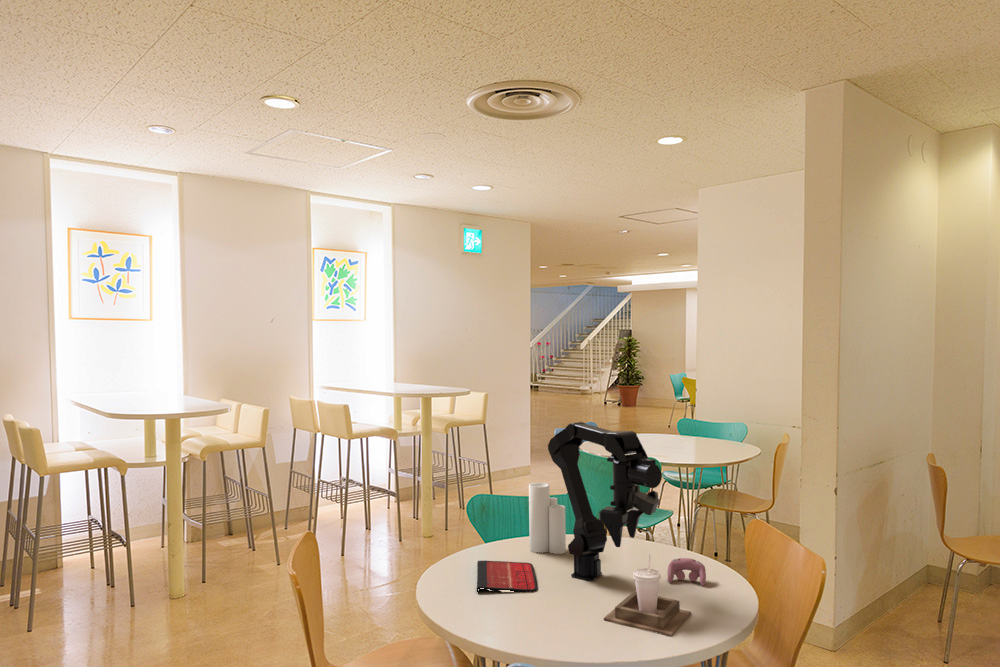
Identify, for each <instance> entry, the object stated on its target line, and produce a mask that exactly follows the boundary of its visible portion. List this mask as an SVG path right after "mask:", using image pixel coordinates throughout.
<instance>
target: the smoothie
mask: <svg viewBox="0 0 1000 667" xmlns="http://www.w3.org/2000/svg"><path fill="white" fill-rule="evenodd" d="M632 574H633V575H632V577H633V579H634V583H635V584H634V585H635V589H636V590H635V592H637V598H638V605H639V610H640V611H644V612H648V613H653V614H656V609H657V599H658V596H659V588H660V580H661V579H662V574H661V572H660V571H659V570H656V569H653V568H651V554H650V553H649V554H647V568H637V569H635V570H633V572H632Z"/></svg>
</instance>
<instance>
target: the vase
mask: <svg viewBox="0 0 1000 667" xmlns="http://www.w3.org/2000/svg"><path fill="white" fill-rule="evenodd" d="M550 490H551V489H550V484H549V483H546V482H531V483H529V484H528V512H529V513H528V514H529V515H528V518H529V519H528V521H529V525H528V526H529V532H528V534H529V551H530V552H531V551H532V552H531V553H534V552H538V553H537V554H540V553H539V552H542V553H541V554H544V553H543V552H546V553H550V552H551V553H550V554H552V553H554V554H553V555H563V553H564V554H566V553H565V552H567V551H566V546H567V544H566V542H567V539H566V536H567V535H566V506H565V505H563V504H558V498H557V497H554V496H552V497H551V496H550V493H551V492H550ZM548 551H549V552H548Z"/></svg>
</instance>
